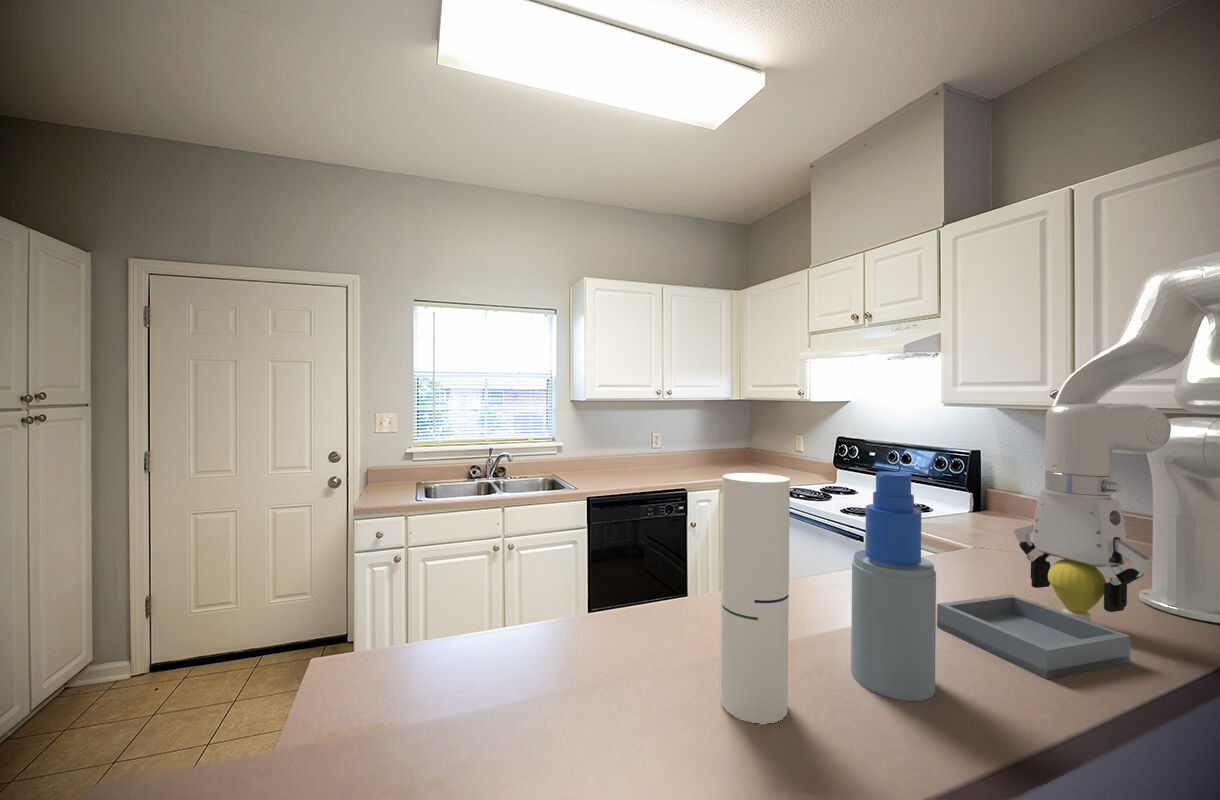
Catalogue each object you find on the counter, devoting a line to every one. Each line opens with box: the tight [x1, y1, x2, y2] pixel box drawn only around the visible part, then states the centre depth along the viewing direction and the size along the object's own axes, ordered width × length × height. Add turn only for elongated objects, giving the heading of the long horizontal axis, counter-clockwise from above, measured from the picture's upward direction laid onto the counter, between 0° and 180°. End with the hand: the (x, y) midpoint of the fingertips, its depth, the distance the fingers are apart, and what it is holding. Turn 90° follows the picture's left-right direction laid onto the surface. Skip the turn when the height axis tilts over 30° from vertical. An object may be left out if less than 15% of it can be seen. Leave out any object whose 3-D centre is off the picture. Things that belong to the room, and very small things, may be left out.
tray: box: [936, 594, 1131, 680], centre depth 72 cm, size 15×15×4 cm
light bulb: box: [1048, 558, 1108, 622], centre depth 78 cm, size 7×7×10 cm
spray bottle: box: [850, 471, 937, 702], centre depth 62 cm, size 9×9×25 cm
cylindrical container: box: [719, 472, 791, 725], centre depth 57 cm, size 7×7×25 cm
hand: (1075, 597), depth 78 cm, fingers open, 9 cm apart
